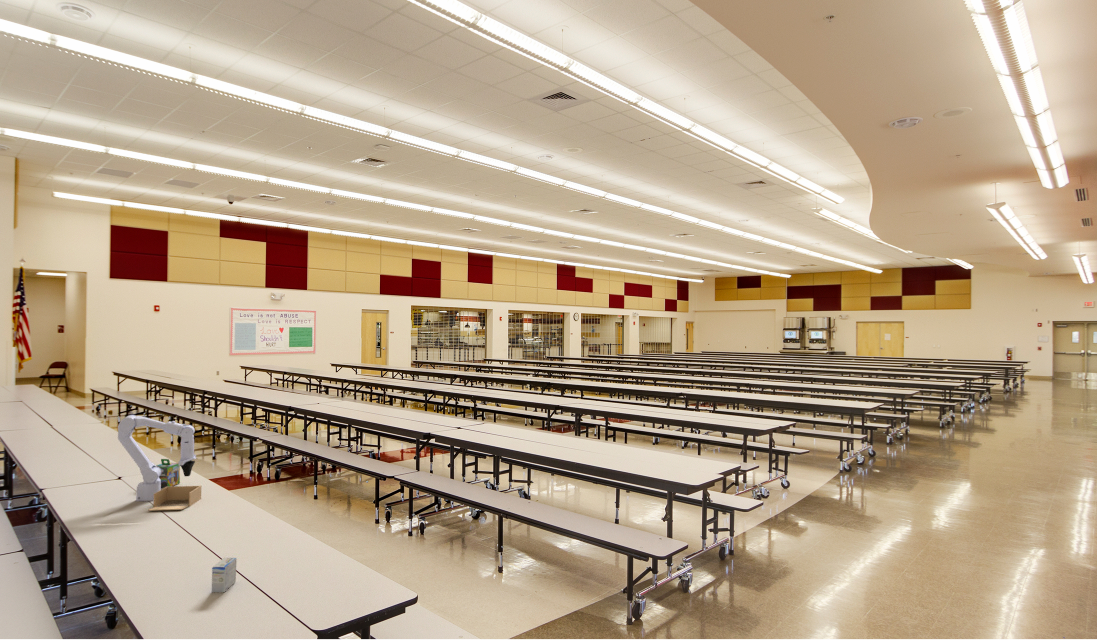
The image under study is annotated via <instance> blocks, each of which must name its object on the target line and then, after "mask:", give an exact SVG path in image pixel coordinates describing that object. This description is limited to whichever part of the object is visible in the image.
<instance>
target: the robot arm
mask: <svg viewBox="0 0 1097 640" xmlns="http://www.w3.org/2000/svg"><path fill="white" fill-rule="evenodd" d="M144 426H145V427H150V428H155V429H161V430H162V431H163V432H164V433H165V434H171V435H175V436H180V439H181V440H180V459H179V461H178V462H177V463H178V465H180V468H181V469H182V472H183V475H184V477H190V476H191V474H192V470H193V466H194V465H195V463H196V461H195V460H196V459H197V454H195V439H194V438H195V436H194V435H195V432H196V431H195V427H194V426H193V425H192V424H186V423H178V422H176V421H175V420H172V421H167V422H164V421H160V420H157V419H152V418H150V417H146V416H141V415H136V414H129V415H127V416H125V417H124V418H122V419H121V420H120V422H119V423H118V425H117V439H118V442H120V444H121V445H122V447H124V449H125V450H126V452H127V453H128V454H129V456H130V457H131V459H132V460H133V461H134V463H135V464H136V466H137V467H138V468H139V471H140V473H141V476H142V480H143V482H142V481H141V482H138V484H137V486H136V493H135V494H136V497H135V502H151V501H152V502H154V494H155V493H156V492H158V491H160V490H161V489H162V488H161V479H160V478H159V476H160V475H161V469H160V468H159V467H157V466H156V464H155V463H153V462H152V461H151V460H150V459H149V458H148V457H147V455H146V453H145V452H144V451H143V449H142V448H141V447H140V445H138V443H137V441H136V440H135V438H134V437H133V436H132V435H133V433H134V430H135V428H139V427H144Z"/></svg>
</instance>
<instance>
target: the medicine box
mask: <svg viewBox="0 0 1097 640" xmlns="http://www.w3.org/2000/svg"><path fill="white" fill-rule="evenodd" d="M236 581H237V557H223V558H222V559H220V560H219V561H218V562H217V563H216V564H215V565H214V566H213V567H211V593H212V592H224V593H225V591H226V590H227V591H228V590H229V589H230V588H231V587H232V586H233V584H235V583H236ZM228 588H229V589H228ZM227 591H226V592H227Z"/></svg>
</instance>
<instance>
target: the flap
mask: <svg viewBox="0 0 1097 640" xmlns="http://www.w3.org/2000/svg"><path fill="white" fill-rule="evenodd" d="M186 508H188V506H187V505H186V506H183V505H182V506H177V505H175V506H165V505H164V506H160V507H154V508H153V507H152V508H150V509H148V511H177V510H184V509H186Z"/></svg>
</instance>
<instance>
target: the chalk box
mask: <svg viewBox="0 0 1097 640" xmlns="http://www.w3.org/2000/svg"><path fill="white" fill-rule="evenodd" d="M160 461H161V463H159V464H157V465H156V464H155V466H157V467H159V468H160V469H161V475H160V476H159V478H160V479H161V489H163V488H165V487H171V486H177V485H179V484H180V483H181V478H180V477H181V473H180V468H181V466H180V465H178V462H170V459H169V458H161V459H160Z"/></svg>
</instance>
